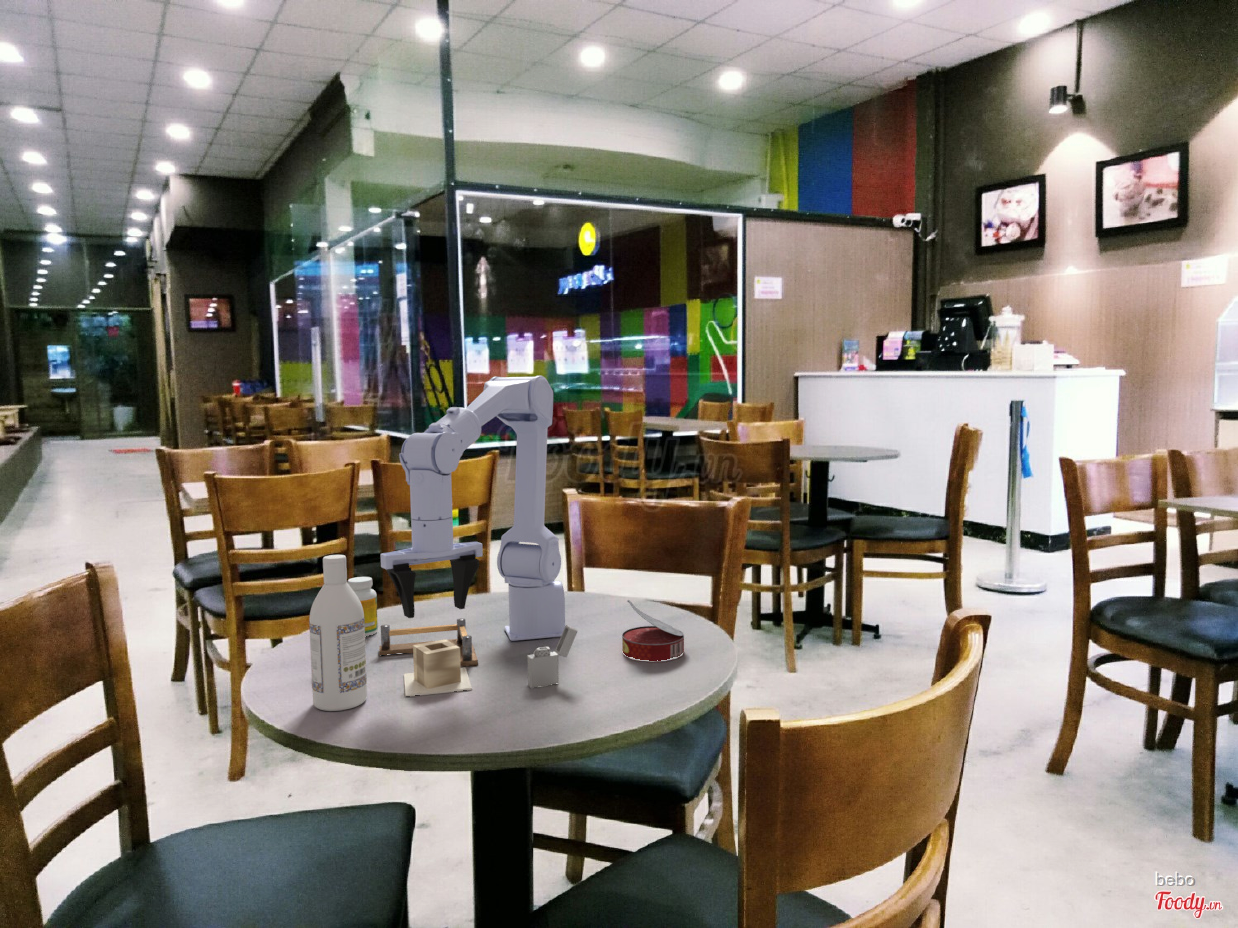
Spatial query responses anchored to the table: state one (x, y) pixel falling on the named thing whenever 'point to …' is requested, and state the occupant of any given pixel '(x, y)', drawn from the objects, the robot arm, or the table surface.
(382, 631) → the wooden rail
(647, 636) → the canned food
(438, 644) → the hollow wooden cube
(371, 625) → the supplement bottle
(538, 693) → the table surface
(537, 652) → the lighter
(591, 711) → the table surface
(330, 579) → the bath foam
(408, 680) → the coaster
